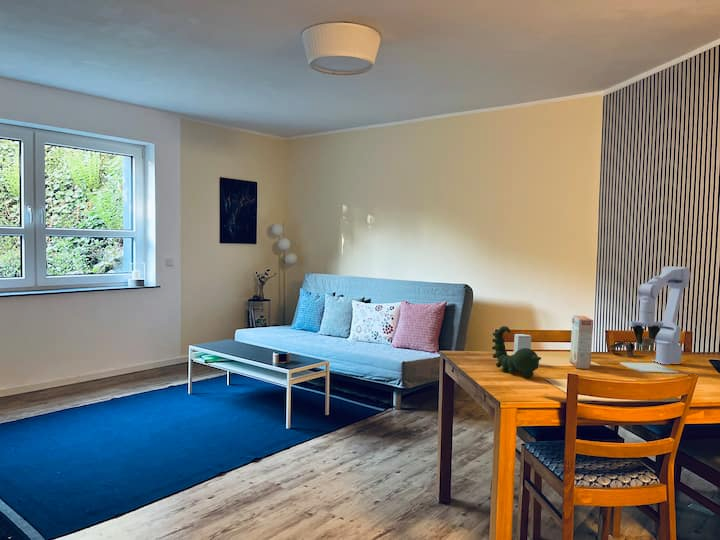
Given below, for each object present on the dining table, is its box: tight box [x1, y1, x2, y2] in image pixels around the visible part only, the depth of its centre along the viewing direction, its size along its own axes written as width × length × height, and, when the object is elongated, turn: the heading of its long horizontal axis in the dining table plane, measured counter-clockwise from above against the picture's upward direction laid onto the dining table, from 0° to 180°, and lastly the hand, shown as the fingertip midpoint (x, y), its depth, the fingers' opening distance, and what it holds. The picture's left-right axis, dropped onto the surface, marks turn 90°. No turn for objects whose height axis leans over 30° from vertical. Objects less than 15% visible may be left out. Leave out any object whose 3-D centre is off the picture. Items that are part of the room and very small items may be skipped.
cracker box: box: [569, 315, 594, 370], centre depth 224 cm, size 14×6×21 cm, turn 168°
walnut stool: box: [635, 337, 655, 353], centre depth 225 cm, size 5×5×6 cm
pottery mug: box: [609, 339, 636, 358], centre depth 252 cm, size 12×10×8 cm
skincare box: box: [513, 333, 532, 355], centre depth 227 cm, size 6×4×12 cm
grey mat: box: [619, 362, 680, 374], centre depth 224 cm, size 16×16×1 cm
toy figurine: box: [491, 325, 542, 379], centre depth 205 cm, size 9×19×25 cm
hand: (645, 343), depth 225 cm, fingers closed on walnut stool, 5 cm apart
